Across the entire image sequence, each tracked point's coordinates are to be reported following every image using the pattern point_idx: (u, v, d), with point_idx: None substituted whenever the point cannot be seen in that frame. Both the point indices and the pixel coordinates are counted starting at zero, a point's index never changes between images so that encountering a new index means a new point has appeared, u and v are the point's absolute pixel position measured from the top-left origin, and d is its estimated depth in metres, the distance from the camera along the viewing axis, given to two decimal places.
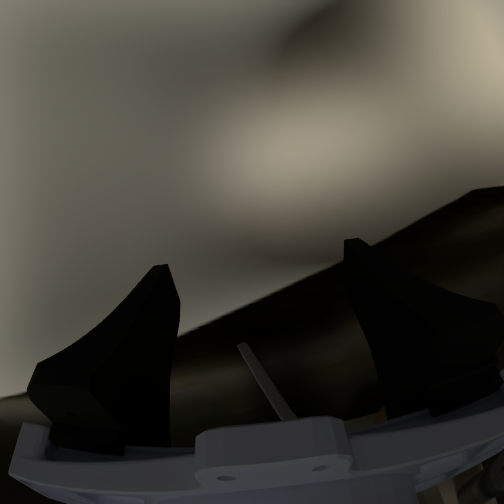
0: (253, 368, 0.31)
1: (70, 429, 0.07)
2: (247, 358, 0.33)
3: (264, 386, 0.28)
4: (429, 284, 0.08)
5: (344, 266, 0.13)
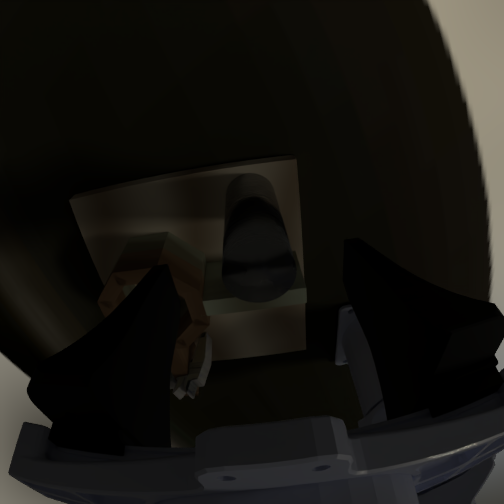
0: None
1: (70, 429, 0.07)
2: None
3: None
4: (429, 284, 0.08)
5: (344, 266, 0.13)
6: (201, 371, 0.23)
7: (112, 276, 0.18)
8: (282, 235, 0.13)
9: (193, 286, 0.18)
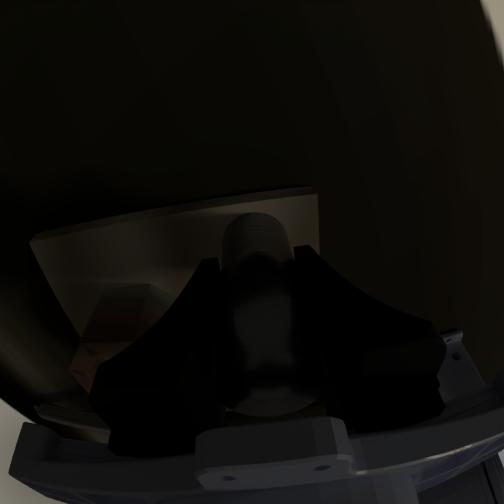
0: (66, 424, 0.22)
1: (134, 435, 0.07)
2: (55, 421, 0.23)
3: (86, 429, 0.21)
4: (366, 296, 0.08)
5: None
6: None
7: (81, 347, 0.13)
8: (306, 334, 0.09)
9: None
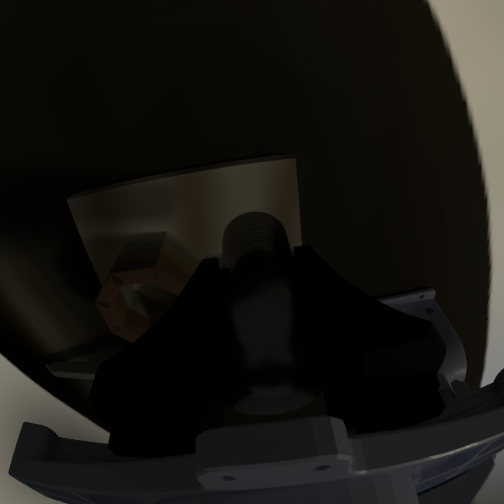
0: (77, 377, 0.27)
1: (134, 435, 0.07)
2: (67, 376, 0.27)
3: None
4: (366, 296, 0.08)
5: None
6: None
7: (110, 277, 0.17)
8: (305, 332, 0.09)
9: None
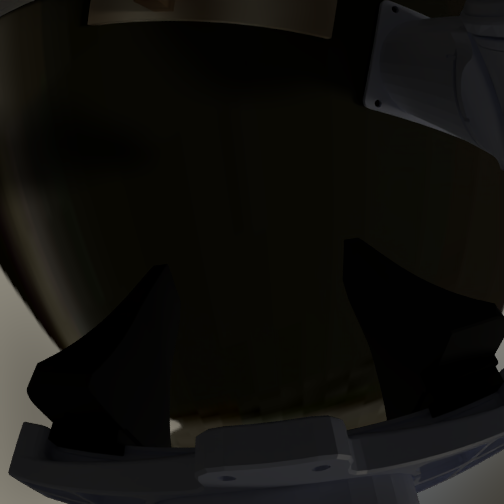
0: None
1: (70, 429, 0.07)
2: None
3: None
4: (429, 284, 0.08)
5: (344, 266, 0.13)
6: None
7: None
8: None
9: None
